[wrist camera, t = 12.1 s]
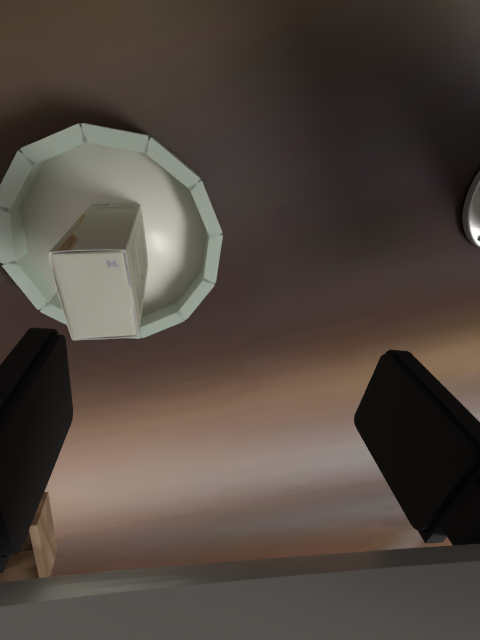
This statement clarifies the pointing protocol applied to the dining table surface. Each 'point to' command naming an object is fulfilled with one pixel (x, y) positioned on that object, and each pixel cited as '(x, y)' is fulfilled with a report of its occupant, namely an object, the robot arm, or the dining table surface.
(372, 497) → the dining table surface
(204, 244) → the round tray
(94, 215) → the skincare box
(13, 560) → the wooden display box
